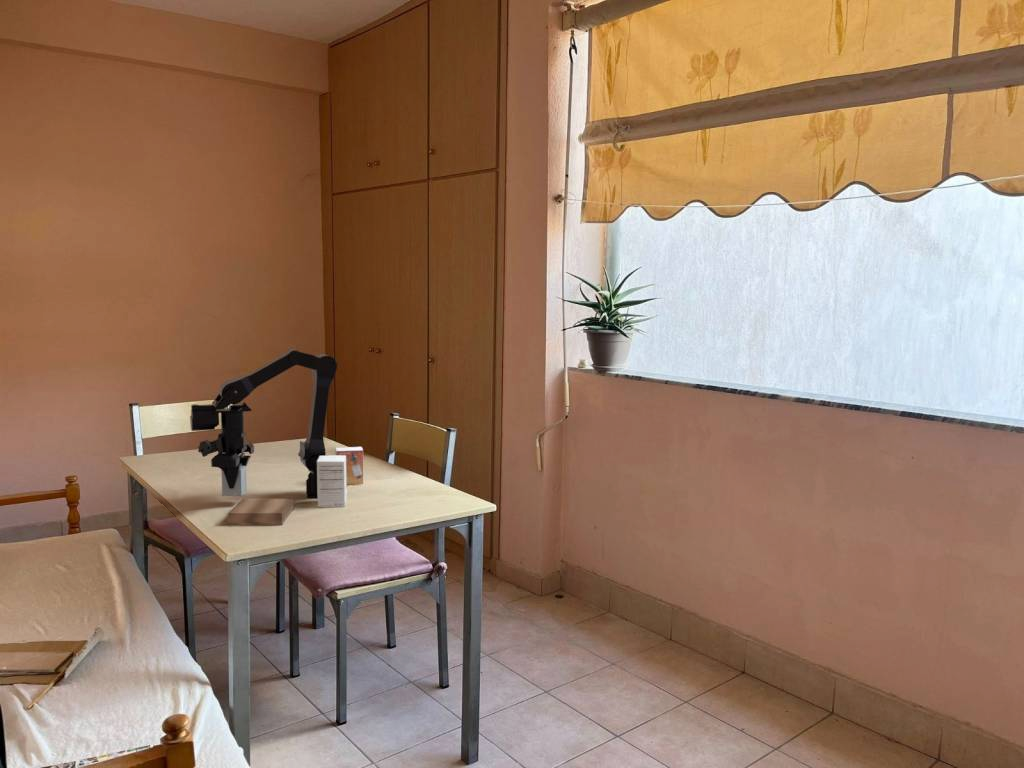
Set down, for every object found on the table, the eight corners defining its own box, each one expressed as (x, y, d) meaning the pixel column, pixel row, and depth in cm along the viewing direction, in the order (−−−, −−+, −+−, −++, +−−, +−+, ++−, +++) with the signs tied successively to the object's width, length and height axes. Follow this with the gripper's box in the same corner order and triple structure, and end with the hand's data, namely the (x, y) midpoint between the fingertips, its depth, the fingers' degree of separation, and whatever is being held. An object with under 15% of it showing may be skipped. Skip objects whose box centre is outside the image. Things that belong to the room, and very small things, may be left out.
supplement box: (319, 500, 216) (319, 455, 215) (347, 499, 217) (346, 454, 216) (316, 507, 209) (316, 461, 207) (345, 507, 210) (344, 460, 208)
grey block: (246, 491, 213) (246, 465, 212) (241, 495, 208) (240, 470, 207) (227, 491, 213) (227, 465, 212) (222, 495, 208) (221, 470, 207)
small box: (336, 486, 232) (335, 450, 230) (335, 481, 237) (334, 447, 236) (363, 484, 234) (363, 449, 232) (362, 480, 239) (361, 446, 238)
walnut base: (293, 509, 206) (293, 498, 206) (282, 524, 194) (281, 513, 193) (242, 510, 206) (242, 498, 205) (228, 525, 193) (227, 513, 192)
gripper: (212, 422, 217) (214, 477, 219) (189, 435, 198) (191, 495, 200) (253, 422, 218) (255, 477, 220) (234, 435, 199) (236, 495, 201)
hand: (234, 485), depth 210 cm, fingers closed on grey block, 5 cm apart
